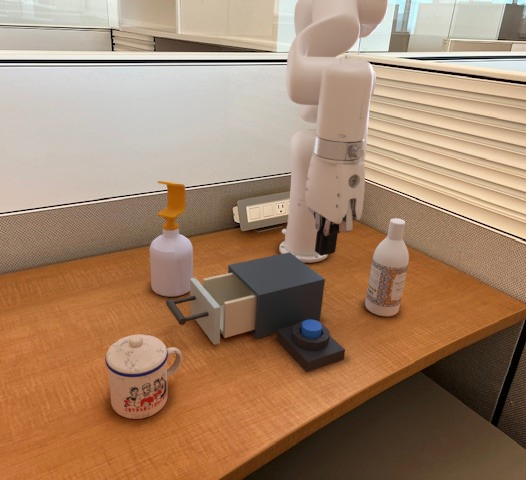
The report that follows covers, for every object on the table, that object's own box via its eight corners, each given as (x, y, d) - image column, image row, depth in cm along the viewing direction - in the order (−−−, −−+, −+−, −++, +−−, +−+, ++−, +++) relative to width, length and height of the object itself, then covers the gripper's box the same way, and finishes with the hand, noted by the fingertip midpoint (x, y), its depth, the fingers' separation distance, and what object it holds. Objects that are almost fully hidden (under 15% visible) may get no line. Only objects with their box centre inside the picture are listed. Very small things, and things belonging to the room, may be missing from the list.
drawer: (184, 353, 84) (183, 316, 80) (162, 319, 93) (161, 284, 89) (277, 326, 92) (280, 292, 89) (249, 298, 101) (251, 265, 98)
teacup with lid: (124, 430, 69) (118, 366, 64) (100, 393, 75) (93, 332, 70) (196, 397, 75) (196, 336, 70) (168, 365, 82) (166, 308, 77)
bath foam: (382, 321, 97) (400, 230, 88) (357, 305, 102) (371, 218, 93) (405, 311, 100) (424, 223, 92) (379, 296, 105) (395, 211, 97)
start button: (297, 330, 87) (297, 322, 86) (313, 325, 88) (314, 317, 87) (308, 341, 84) (309, 333, 83) (325, 336, 85) (326, 328, 85)
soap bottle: (143, 292, 103) (137, 183, 93) (165, 273, 111) (161, 171, 101) (180, 301, 100) (178, 190, 90) (199, 282, 108) (200, 177, 98)
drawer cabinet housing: (256, 339, 90) (259, 295, 86) (226, 305, 100) (228, 264, 96) (319, 320, 96) (325, 278, 92) (286, 290, 106) (289, 252, 102)
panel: (276, 339, 90) (277, 321, 88) (311, 329, 93) (313, 311, 92) (306, 372, 82) (308, 353, 80) (343, 359, 85) (346, 341, 84)
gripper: (390, 158, 70) (370, 267, 78) (328, 135, 82) (317, 232, 90) (349, 164, 67) (333, 277, 75) (292, 138, 79) (283, 238, 87)
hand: (324, 252), depth 83 cm, fingers closed
